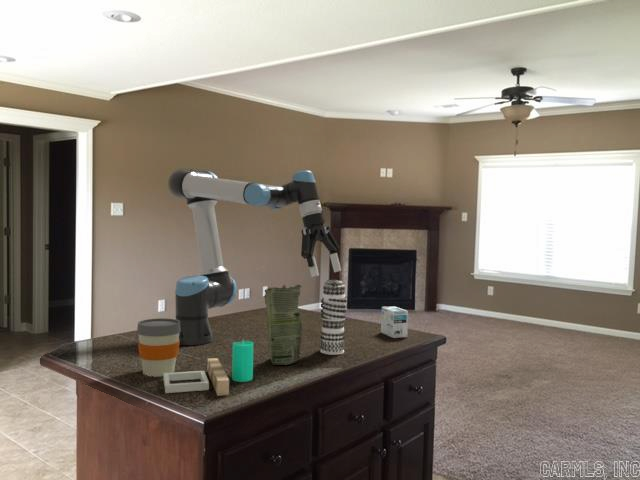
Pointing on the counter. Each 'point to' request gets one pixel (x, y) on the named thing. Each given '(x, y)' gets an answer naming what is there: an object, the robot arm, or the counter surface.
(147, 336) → the reusable coffee cup
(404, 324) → the light bulb box
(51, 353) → the counter surface
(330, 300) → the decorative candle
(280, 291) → the pouch
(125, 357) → the counter surface
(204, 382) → the frame
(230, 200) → the robot arm
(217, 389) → the edge strip
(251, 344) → the candle
